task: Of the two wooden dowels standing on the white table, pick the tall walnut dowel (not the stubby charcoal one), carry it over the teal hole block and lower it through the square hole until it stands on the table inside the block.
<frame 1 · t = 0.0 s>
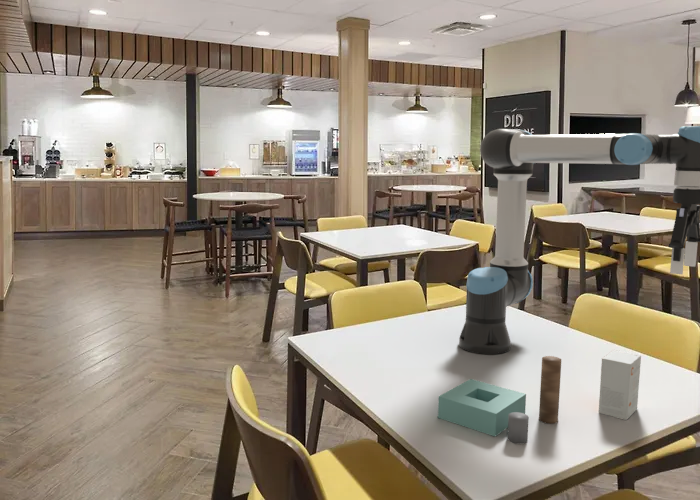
hand: (683, 269, 162), 28 cm above the table, fingers open, 13 cm apart
hole block: (481, 416, 139), on the table
charcoal dowel: (517, 439, 128), on the table
small box: (617, 411, 142), on the table
walnut dowel: (548, 419, 138), on the table
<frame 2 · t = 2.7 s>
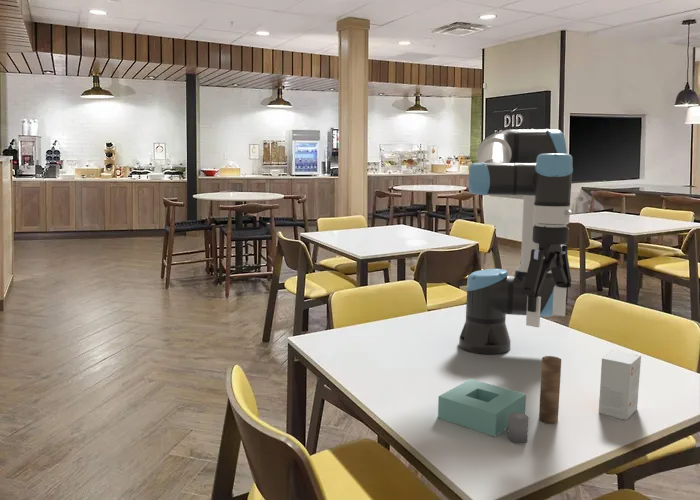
hand: (546, 320, 139), 21 cm above the table, fingers open, 13 cm apart
nothing on the table moved.
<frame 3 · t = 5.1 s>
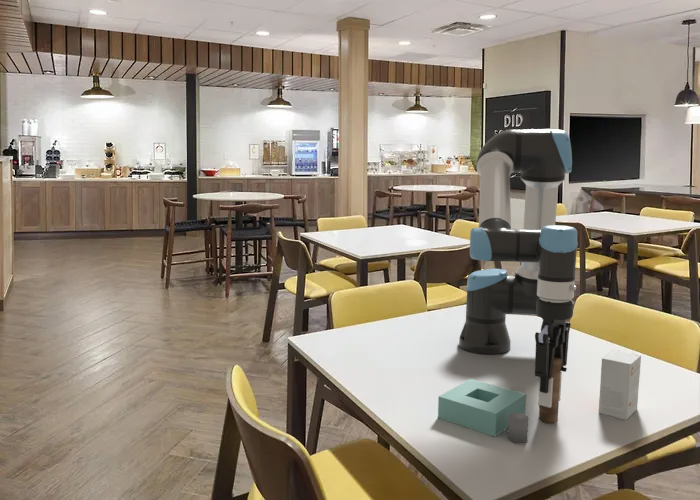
hand: (549, 402, 137), 4 cm above the table, fingers closed on walnut dowel, 4 cm apart
walnut dowel: (548, 419, 138), on the table, touching gripper
everything else where it was.
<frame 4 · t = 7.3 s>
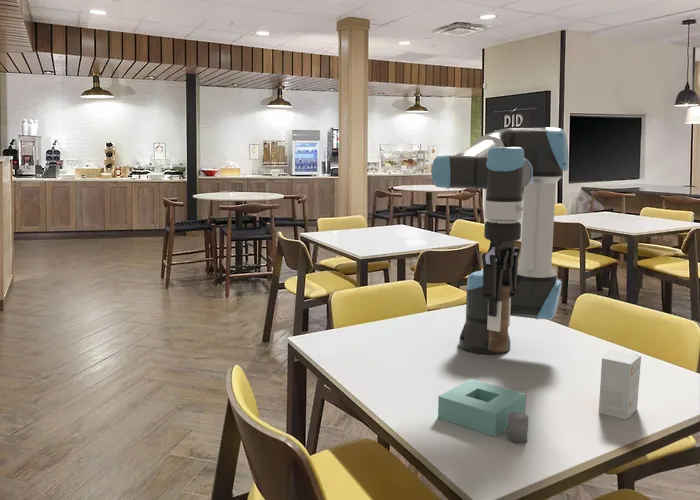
hand: (498, 327, 136), 21 cm above the table, fingers closed on walnut dowel, 4 cm apart
walnut dowel: (497, 348, 136), point 16 cm above the table, touching gripper
everything else where it was.
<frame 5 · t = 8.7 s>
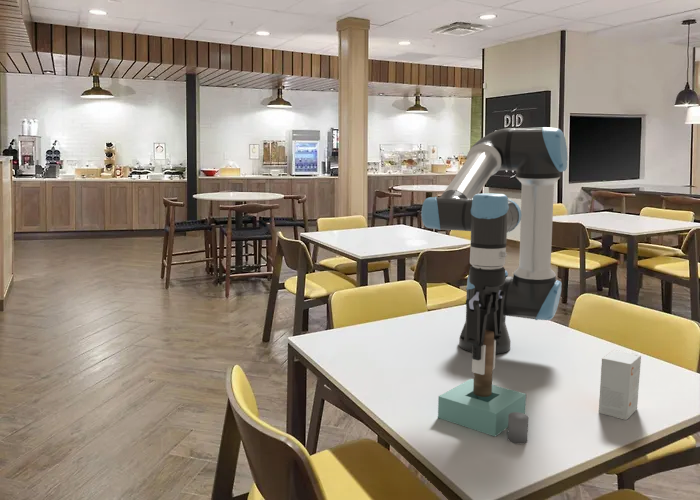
hand: (483, 370, 137), 11 cm above the table, fingers closed on walnut dowel, 4 cm apart
walnut dowel: (482, 393, 138), point 5 cm above the table, touching gripper
everything else where it was.
when the fingers open (6 cm above the table, at t = 9.9 s): walnut dowel drops 1 cm, resting in hole block.
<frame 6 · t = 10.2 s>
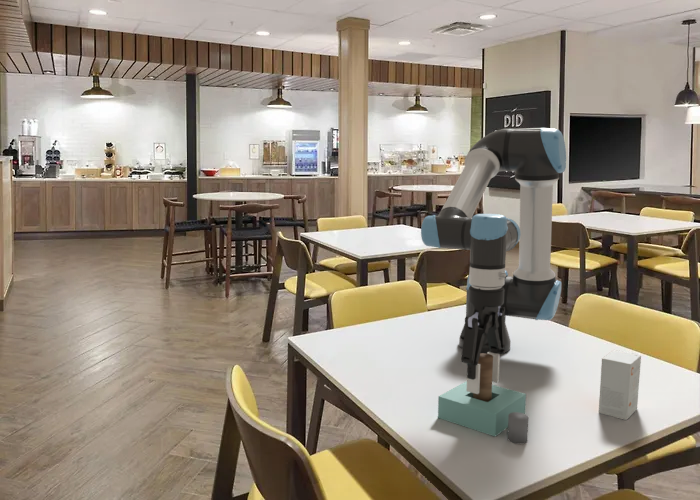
hand: (482, 386, 138), 7 cm above the table, fingers open, 8 cm apart
walnut dowel: (481, 416, 139), resting in hole block
everything else where it was.
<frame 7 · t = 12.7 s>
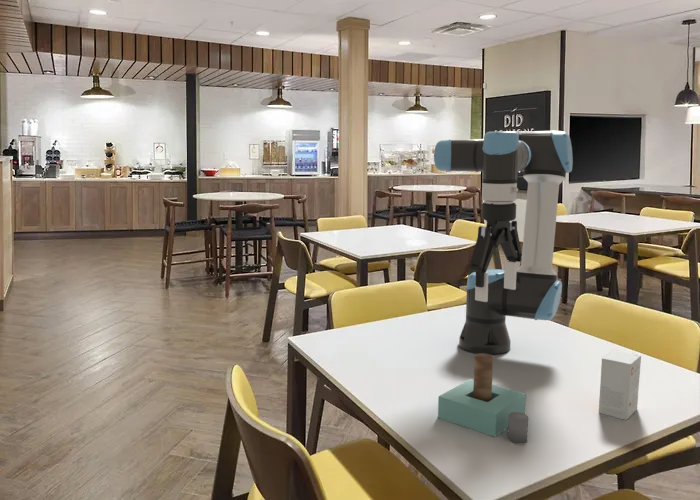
hand: (496, 294, 143), 26 cm above the table, fingers open, 13 cm apart
nothing on the table moved.
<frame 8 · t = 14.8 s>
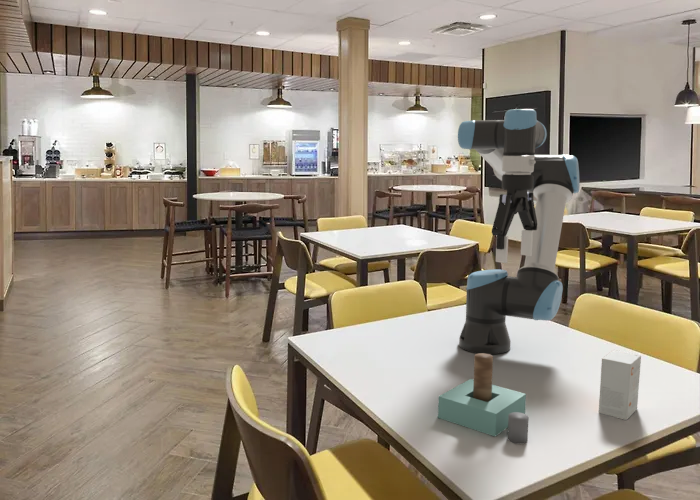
hand: (514, 258, 157), 32 cm above the table, fingers open, 13 cm apart
nothing on the table moved.
at the end: walnut dowel 0.0 cm off-centre on the hole block, point 0.0 cm above the hole block's base; walnut dowel tilted 0°; the gripper is holding nothing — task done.
